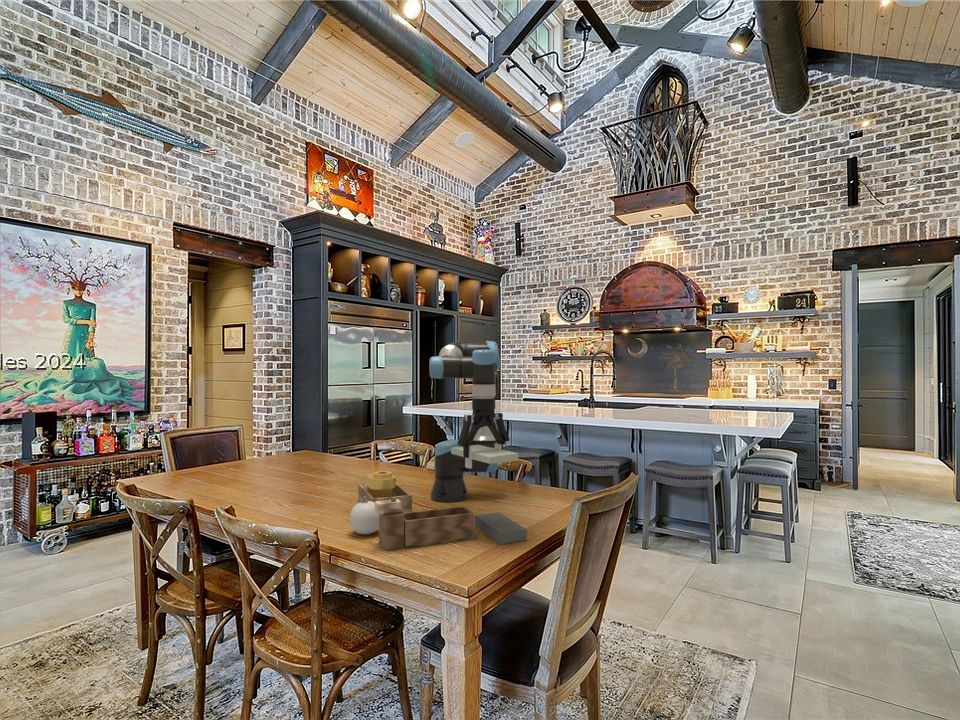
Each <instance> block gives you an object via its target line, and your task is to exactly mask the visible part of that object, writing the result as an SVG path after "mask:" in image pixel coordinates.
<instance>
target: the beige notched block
mask: <svg viewBox="0 0 960 720" xmlns="http://www.w3.org/2000/svg"><path fill="white" fill-rule="evenodd" d="M400 510H401V501H399V500H398V499H396V497H391V500H382V501H375V512H376V513H377V514H378V515H380V514H384V512H391V511H400Z"/></svg>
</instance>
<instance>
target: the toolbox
mask: <svg viewBox="0 0 960 720" xmlns="http://www.w3.org/2000/svg"><path fill="white" fill-rule="evenodd" d="M474 539H475V513H474V512H473V511H472V510H470V509H469V508H467V507H465V506H464V505H463V506H453V507H445V508H435V509H426V510H419V511H418V510H416V511H412V512H407V513H403V510H400V511H391V512H384V514H380V515H379V528H378V543H379V545H380V546H381V548H382V549H383V551H385V552H388V551H394V550H401V549H405V550H406V549H414V548H419V547H427V546H434V545H440V544H441V545H443V544H448V543H453V542H454V543H455V542H462V541H468V540H471V541H472V540H474Z"/></svg>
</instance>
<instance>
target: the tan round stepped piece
mask: <svg viewBox="0 0 960 720" xmlns="http://www.w3.org/2000/svg"><path fill="white" fill-rule="evenodd" d="M396 482H397V477H396V475H394V474H393V472H392V471H390V470H378V471H374V472H373V473H365V477H364V482H363V484H364V488H365V489H366V490H367V491H368V492H369V493H370V495H371V496H372V497H373V498H374V499H375V498H385V497H392V488H395V487H396Z"/></svg>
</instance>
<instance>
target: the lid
mask: <svg viewBox="0 0 960 720" xmlns="http://www.w3.org/2000/svg"><path fill="white" fill-rule="evenodd" d="M470 447H471V448H472V459H473V460H477V461H481V462H485V463H489V464H492V463H499V462H501V463H507V462H512V461H518V460H519V453H518V452H512V451H510V450H509V451H508V450H504V449H503V450H500V449H495V448H491V447H486V446H482V445H471V446H470ZM451 454H454V455H458V456H462V457H464V456H463V446H461V447H452V448H451Z"/></svg>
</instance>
